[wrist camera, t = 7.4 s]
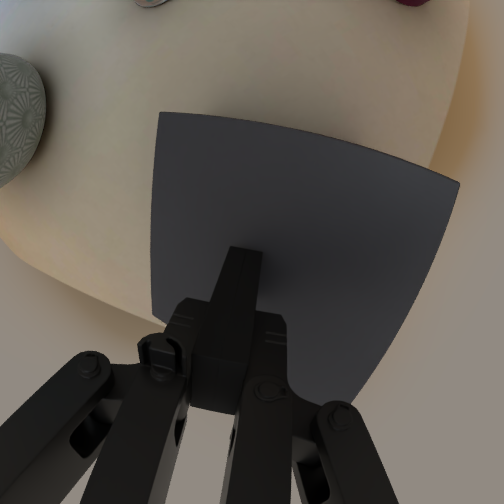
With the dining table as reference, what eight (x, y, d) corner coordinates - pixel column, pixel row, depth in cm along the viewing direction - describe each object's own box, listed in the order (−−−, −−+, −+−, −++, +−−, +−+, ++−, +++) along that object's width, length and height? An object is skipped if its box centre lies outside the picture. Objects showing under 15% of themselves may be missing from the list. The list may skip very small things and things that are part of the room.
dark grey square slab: (456, 181, 8) (461, 183, 8) (345, 406, 14) (341, 415, 14) (169, 112, 14) (159, 111, 13) (159, 310, 20) (151, 314, 19)
